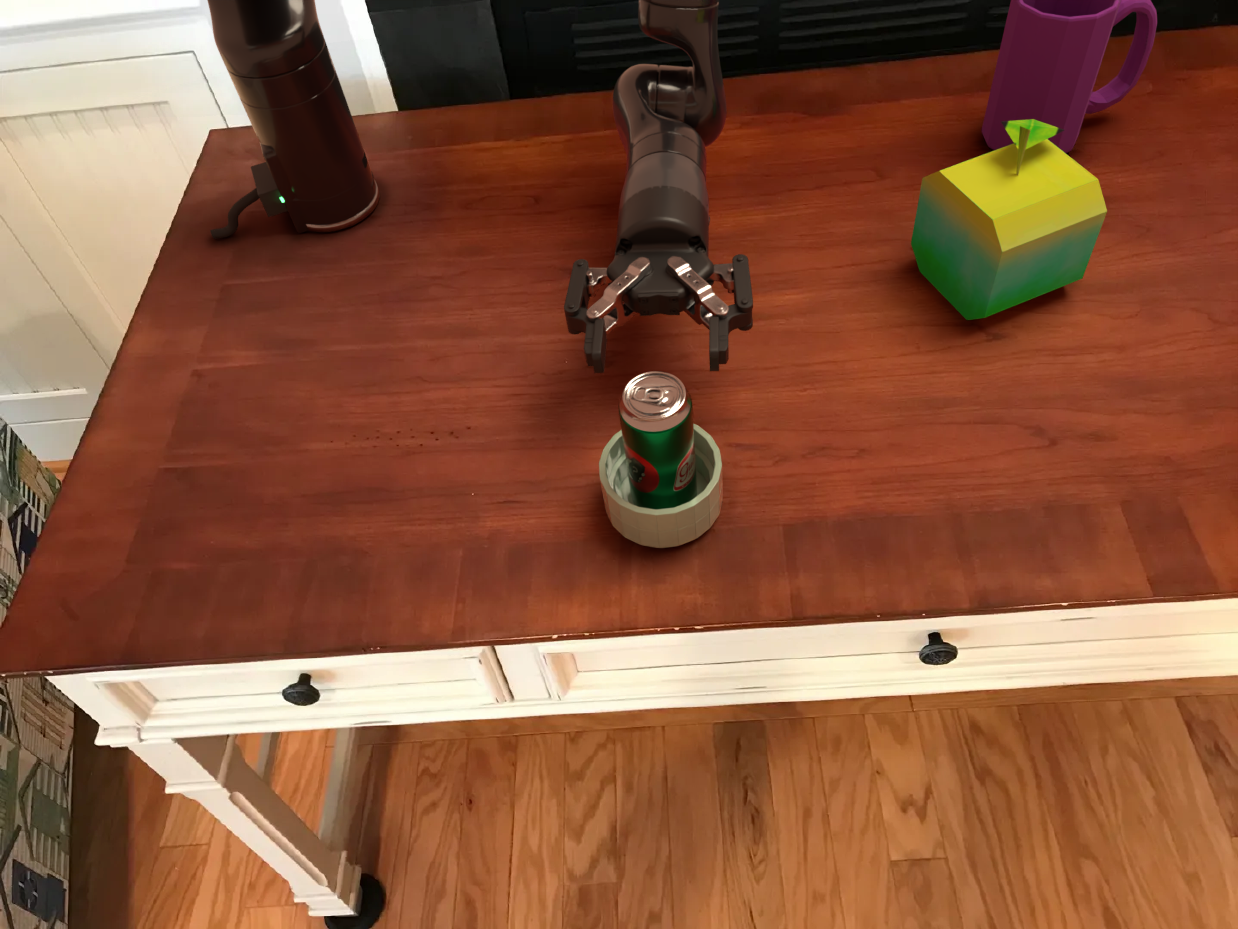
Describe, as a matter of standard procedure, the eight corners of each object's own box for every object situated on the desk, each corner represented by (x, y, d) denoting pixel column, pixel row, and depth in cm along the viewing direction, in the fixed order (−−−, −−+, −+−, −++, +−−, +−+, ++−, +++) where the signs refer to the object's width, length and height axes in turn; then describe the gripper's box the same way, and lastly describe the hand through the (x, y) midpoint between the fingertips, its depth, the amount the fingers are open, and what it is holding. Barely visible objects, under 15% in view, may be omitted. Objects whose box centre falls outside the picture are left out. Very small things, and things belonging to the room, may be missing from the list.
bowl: (632, 569, 73) (626, 532, 69) (589, 480, 78) (581, 441, 74) (742, 525, 74) (742, 487, 70) (693, 441, 79) (690, 401, 75)
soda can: (692, 527, 74) (685, 426, 64) (626, 520, 75) (610, 419, 65) (701, 473, 77) (696, 369, 67) (637, 468, 78) (624, 363, 68)
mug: (963, 124, 101) (993, -20, 89) (1098, 87, 103) (1146, -60, 91) (1010, 175, 96) (1049, 28, 84) (1153, 135, 97) (1211, -15, 85)
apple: (1076, 294, 85) (1131, 145, 73) (979, 333, 83) (1020, 187, 72) (999, 224, 91) (1038, 76, 80) (907, 259, 90) (933, 114, 78)
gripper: (572, 186, 79) (551, 330, 69) (750, 179, 78) (755, 325, 68) (583, 258, 85) (566, 400, 75) (749, 252, 83) (753, 397, 74)
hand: (655, 364), depth 72 cm, fingers open, 8 cm apart
